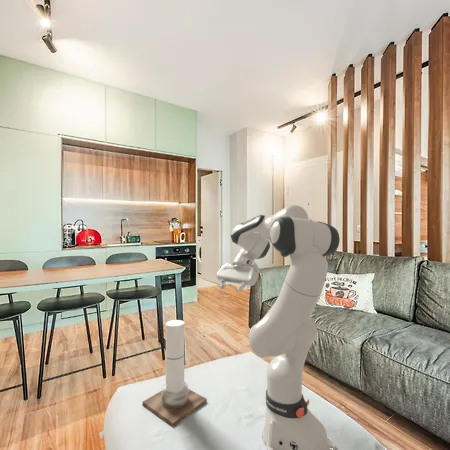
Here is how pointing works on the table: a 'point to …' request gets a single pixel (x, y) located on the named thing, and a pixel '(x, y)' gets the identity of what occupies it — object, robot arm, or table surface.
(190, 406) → the base
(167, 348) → the cylindrical container
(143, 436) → the table surface
